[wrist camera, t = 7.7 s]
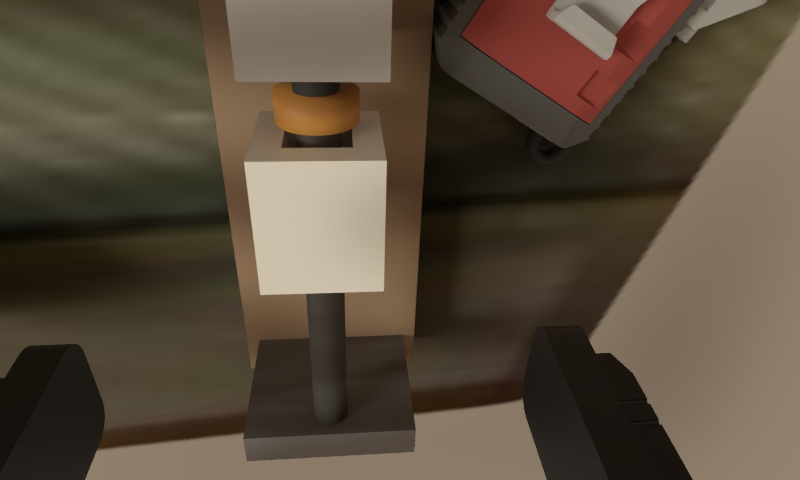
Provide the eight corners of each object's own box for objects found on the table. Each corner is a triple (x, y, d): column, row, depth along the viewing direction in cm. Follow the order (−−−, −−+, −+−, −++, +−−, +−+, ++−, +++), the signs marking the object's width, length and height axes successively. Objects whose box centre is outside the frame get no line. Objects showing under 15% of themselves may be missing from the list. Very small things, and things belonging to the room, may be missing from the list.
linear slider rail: (197, -85, 17) (130, -61, 12) (431, -78, 18) (473, -52, 12) (255, 344, 26) (233, 471, 21) (408, 338, 27) (427, 460, 21)
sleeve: (259, 111, 17) (244, 162, 14) (378, 111, 17) (386, 160, 14) (272, 229, 19) (260, 294, 16) (376, 227, 19) (383, 291, 16)
